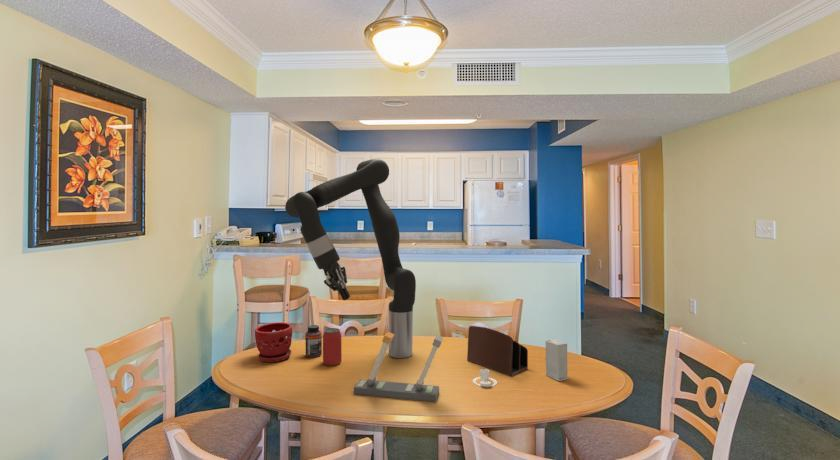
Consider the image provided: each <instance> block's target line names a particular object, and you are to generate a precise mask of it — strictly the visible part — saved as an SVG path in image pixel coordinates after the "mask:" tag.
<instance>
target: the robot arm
mask: <svg viewBox="0 0 840 460" xmlns="http://www.w3.org/2000/svg"><path fill="white" fill-rule="evenodd" d="M389 168H390V167H389V165H388V164H387V162H386V161H384V160H383V159H380V158H372V159H367V160H364V161H361V162H360V163H358V164H357V167H356V171H353V172H351V173H348V174H345V175H342V176H338V177H335V178H332V179H330V180H327V181H324V182H322V183H320V184H318V185H316V186H314V187H312V188H311V189H309V190H307V191H298V192H297V193H296V194H294V195H292V196H291V197H289V198H288V199H287V201H286V202H285V205H284V207H285V211H286V213H287V215H289V216H290V217H292V218H297V219H298V218H299V220H300V223H301V225H300V228H299V230H300V233H301V235H302V238H303V239H304V241H305V243H306V246H307V248H308V251H309V253H310V255H311V257H312V259H313V261H314V262H315V265H316V267H317V269H318V270H323V273H324V275H325V277H326V278H325V279H324V280H323V283H324V284H325V285H326V286H327V287H328V288H330V290H332V291H333V292H336V291H337V292H338V293H339V296H340V298H341V299H342V301H346V300H348V299H350V298H351V295H350V293H349V291H348V288H347V283H348V278H347V271H346V267H345V266H342V267H341V265H340V264H339V261H340V260H341V258H340V256H339V254H338V251H337V250H336V248H335V246H334V243H333V242H332V240H331V238H330V236H329V235H328V233H327V232H326V229H325V228H324V225H323V223H322V222H321V216H320V213H319V208H322V207H324V206H327V205H330V204H332V203H333V202H336V201H338V200H340V199H342V198H344V197H346V196H348V195H350V194H352V193H354V192H357V191H359V190H361V192H362V193H361V194H362V195H363V198H364V201H365V203H366V208H367V211H368V213H369V217H370V221H371V225H372V226H371V227H372V229H373V233H374V236H375V240H376V243H377V246H378V250H379V254H380V255H379V256H380V258H381V261H382V262H381V263H382V268H383V273H384V281H385V284H386V287H388V289H390V290H391V291H393V299H392V301H390V302H389V303H388V332H390V333H392V334H394V337H393V339H392V341H391V342H390V343H389V346H388V356H389V357H391V358H394V359H406V358H410V357H411V356H413V341H414V340H413V336H414V335H413V333H414V331H413V330H414V329H413V327H414V326H413V325H414V324H413V323H414V322H413V321H414V317H413V316H414V315H413V314H414V311H413V310H414V309H413V308H414V305H415V302H416V301H415V300H416V287H417V285H416V284H417V283H416V282H417V281H416V276H415V274H414V272H413V271H412V270H411V269H410V270H409V269H407V268H404V267H403V265H402V262H401V259H400V255H399V246H400V239H401V238H400V237H401V236H400V229H399V225H398V221H397V217H396V215H395V213H394V212H393V210H392V209H391V208H390V206H389V204H388V203H387V202H386V201H385V199H384V197H383V196H382V193H381V188H380V187H379V185H381V184H384V183H385V182H386V181H387V179H388V178H389V175H390V169H389Z"/></svg>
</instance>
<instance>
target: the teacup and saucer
mask: <svg viewBox="0 0 840 460" xmlns="http://www.w3.org/2000/svg"><path fill="white" fill-rule="evenodd" d="M478 380H480V382H479V383H478V382H477V381H478ZM491 381H492V382H493V383H492V382H491ZM472 383H473V384H474V385H476V386H479V387H485V388H492V387H494V386H496V385H498V381H497V380H496V379H495V378H493V377H490V369H489V368H481V369H479V376H477V377H474V378H473V379H472Z"/></svg>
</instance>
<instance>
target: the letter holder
mask: <svg viewBox="0 0 840 460" xmlns="http://www.w3.org/2000/svg"><path fill="white" fill-rule="evenodd" d="M528 352H529V351H528V348H527V347H526V346H524V345H522V344H520V343H519V342H518V341H515V340H514V339H513V338H512V337H511V335H508V334H505V333H504V332H501V331H498V330H496V329H492V328H489V327H483V326H477V325H470V326H469V327H468V337H467V355H466V356H467V358H466V359H467V361H468V362H470V363H473V364H475V365H478V366H481V367H484V368H485V369H488V370H492V371H495V372H498V373H500V374H503V375H506V376H507V377H513V376H516V375H518V374H520V373H522V372H523V373H524V372H525V371H528V369H529V368H528V367H529V366H528V365H529V361H528V360H529V359H528V357H529V356H528V355H529V353H528Z"/></svg>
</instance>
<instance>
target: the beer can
mask: <svg viewBox="0 0 840 460" xmlns="http://www.w3.org/2000/svg"><path fill="white" fill-rule="evenodd" d="M322 363H323V364H324V365H325V366H328V367H329V366H330V367H331V366H337V365H339V364H340V363H342V333H341V329H340V328H335V327H331V328H326V329H325V330H324V332H323V334H322Z"/></svg>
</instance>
